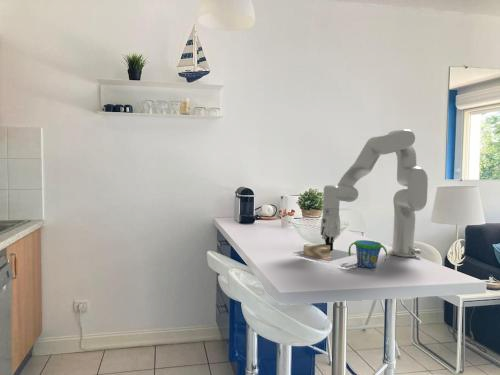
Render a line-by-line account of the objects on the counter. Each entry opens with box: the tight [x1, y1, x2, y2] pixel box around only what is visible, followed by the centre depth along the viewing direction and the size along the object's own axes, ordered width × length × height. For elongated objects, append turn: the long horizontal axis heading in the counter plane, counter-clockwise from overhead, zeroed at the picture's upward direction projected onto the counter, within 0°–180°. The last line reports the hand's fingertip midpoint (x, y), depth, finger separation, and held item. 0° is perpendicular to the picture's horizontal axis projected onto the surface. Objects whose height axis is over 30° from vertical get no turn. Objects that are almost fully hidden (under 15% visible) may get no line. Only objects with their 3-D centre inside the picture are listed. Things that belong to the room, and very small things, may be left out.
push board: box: [292, 248, 357, 262], centre depth 187 cm, size 20×23×1 cm
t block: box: [303, 243, 330, 258], centre depth 184 cm, size 11×10×4 cm
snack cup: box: [347, 239, 388, 269], centre depth 169 cm, size 16×10×10 cm
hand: (328, 250), depth 190 cm, fingers closed
